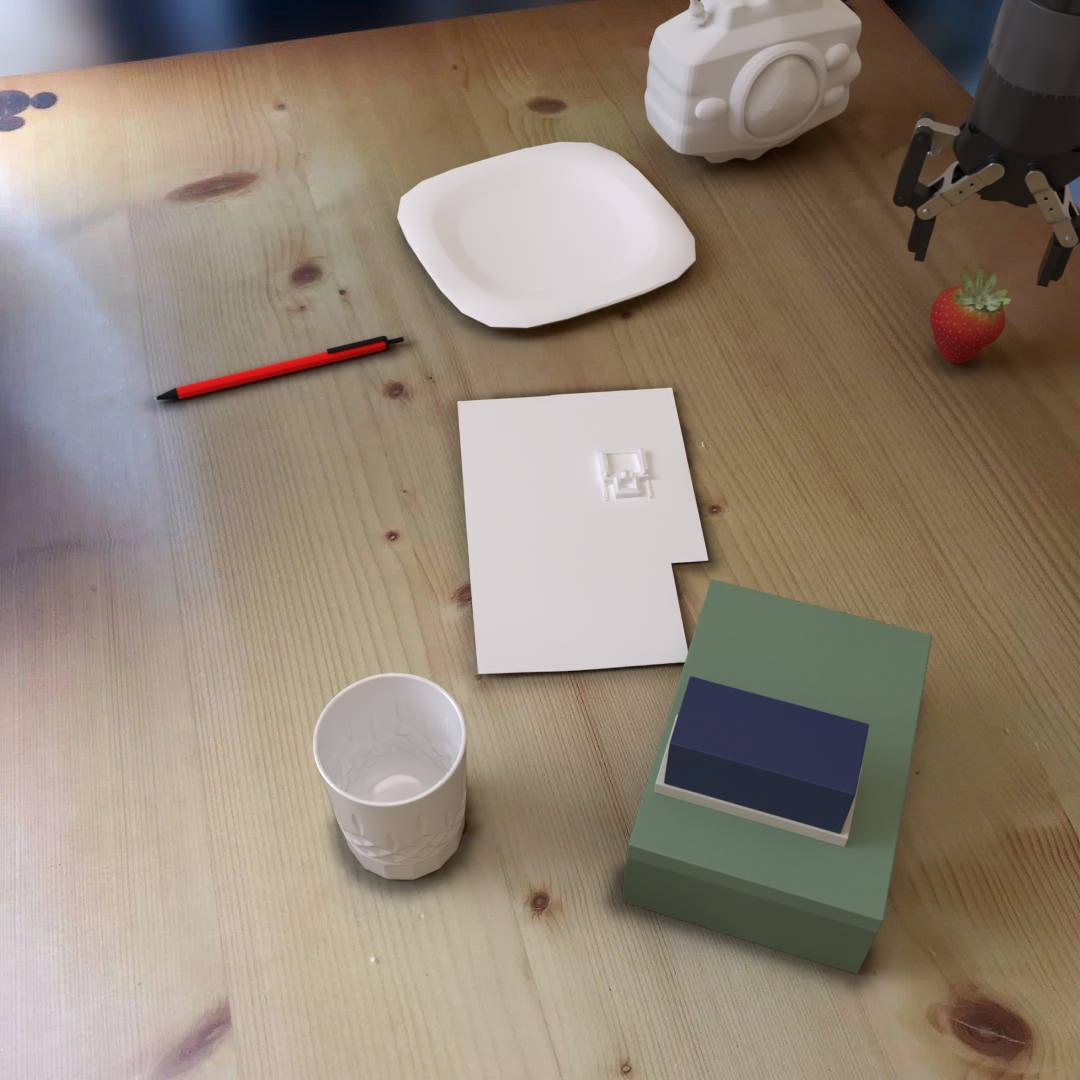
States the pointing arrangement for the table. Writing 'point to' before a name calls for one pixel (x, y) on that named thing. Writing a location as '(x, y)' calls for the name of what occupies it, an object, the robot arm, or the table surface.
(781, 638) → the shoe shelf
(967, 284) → the fruit
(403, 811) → the white cup
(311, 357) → the pen
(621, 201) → the plate
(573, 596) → the paper
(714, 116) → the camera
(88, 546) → the table surface
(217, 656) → the table surface
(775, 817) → the navy block
